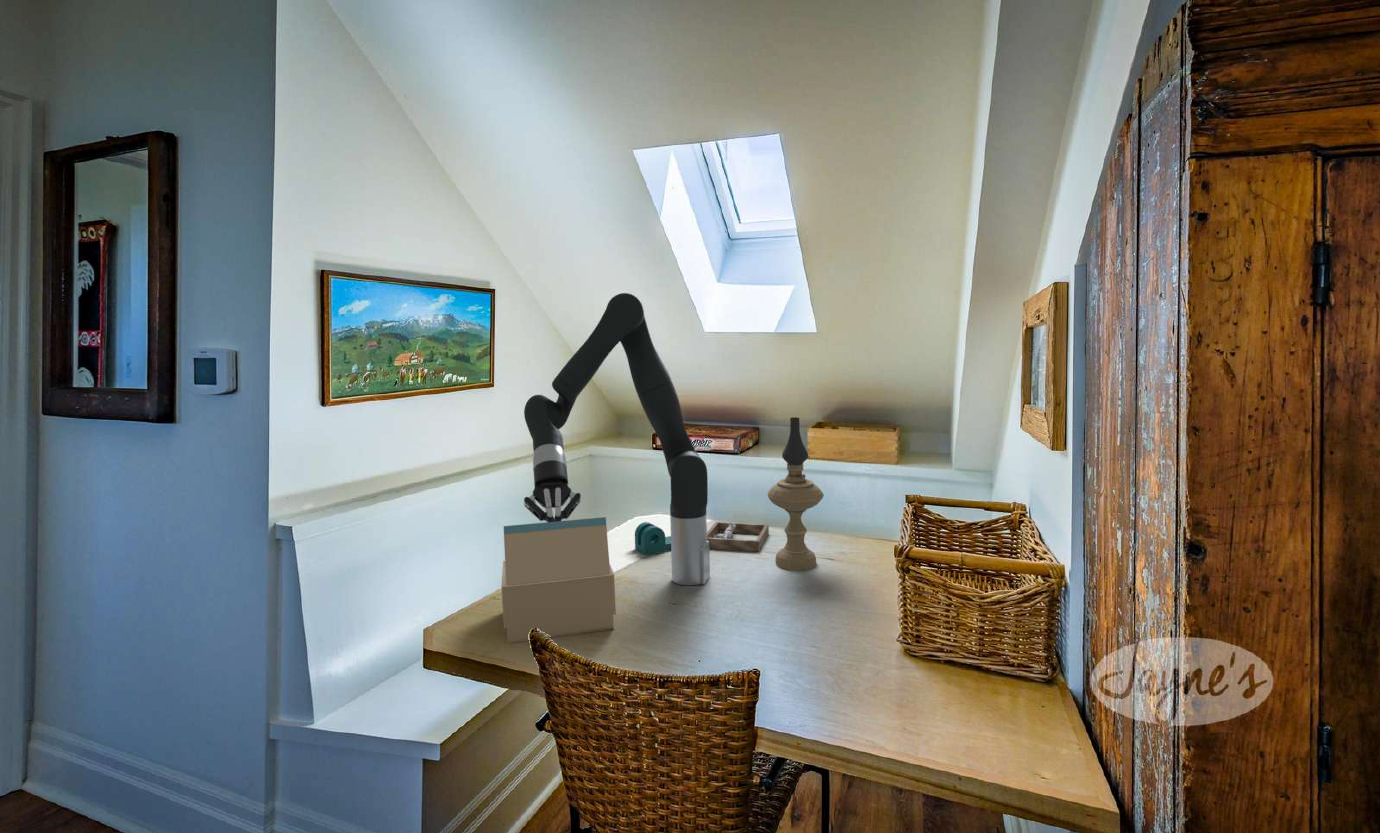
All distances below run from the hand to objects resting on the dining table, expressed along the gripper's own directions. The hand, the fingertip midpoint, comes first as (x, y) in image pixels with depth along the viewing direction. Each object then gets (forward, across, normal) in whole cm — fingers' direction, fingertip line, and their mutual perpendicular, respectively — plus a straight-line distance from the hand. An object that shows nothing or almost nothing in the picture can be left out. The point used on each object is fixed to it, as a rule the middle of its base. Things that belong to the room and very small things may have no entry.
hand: (555, 534), depth 143 cm
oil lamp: (-1, +65, +30) cm, 71 cm away
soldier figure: (-20, +53, +49) cm, 75 cm away
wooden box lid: (+4, 0, -1) cm, 4 cm away
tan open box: (+12, 0, +17) cm, 21 cm away
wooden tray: (-18, +56, +47) cm, 75 cm away
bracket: (-19, +34, +48) cm, 62 cm away
